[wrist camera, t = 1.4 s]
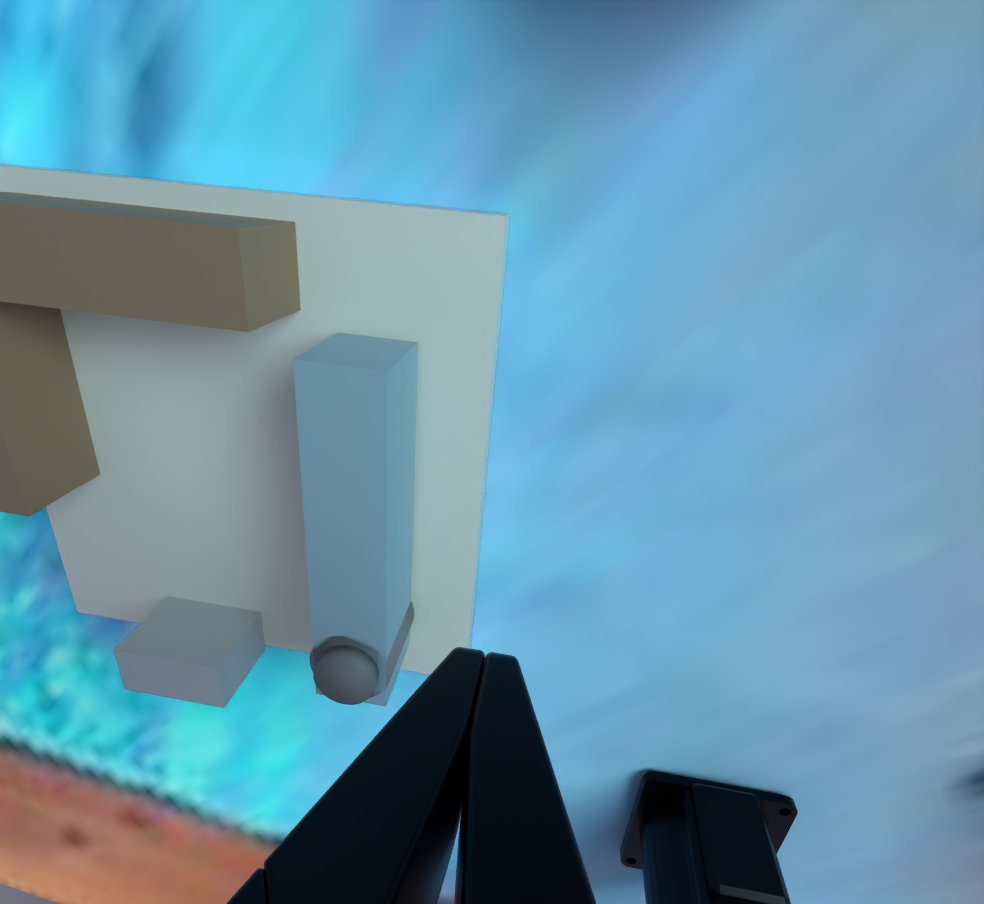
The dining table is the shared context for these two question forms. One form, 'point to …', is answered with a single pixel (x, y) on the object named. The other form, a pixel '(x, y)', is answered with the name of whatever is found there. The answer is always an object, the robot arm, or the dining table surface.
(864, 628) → the dining table surface
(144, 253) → the seat
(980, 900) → the dining table surface
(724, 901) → the robot arm
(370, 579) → the leg
